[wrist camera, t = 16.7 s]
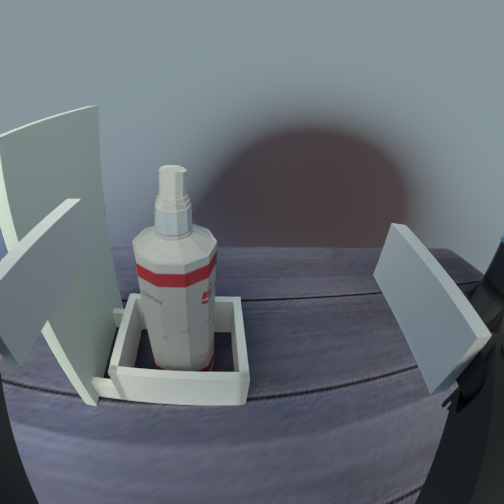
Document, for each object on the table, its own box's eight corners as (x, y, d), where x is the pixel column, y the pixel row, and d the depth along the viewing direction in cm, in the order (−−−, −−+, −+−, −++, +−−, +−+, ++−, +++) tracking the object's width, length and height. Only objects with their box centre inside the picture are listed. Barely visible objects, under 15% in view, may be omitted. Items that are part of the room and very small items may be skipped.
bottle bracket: (235, 310, 45) (256, 104, 29) (246, 415, 30) (299, 125, 14) (114, 306, 42) (87, 106, 26) (86, 404, 27) (-16, 141, 11)
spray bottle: (150, 346, 37) (125, 160, 23) (201, 335, 40) (203, 154, 26) (164, 393, 31) (129, 189, 17) (221, 378, 34) (233, 179, 20)
